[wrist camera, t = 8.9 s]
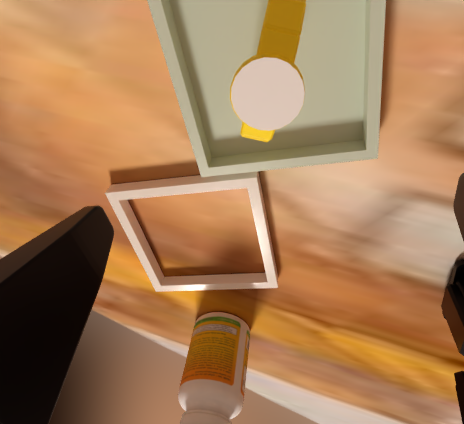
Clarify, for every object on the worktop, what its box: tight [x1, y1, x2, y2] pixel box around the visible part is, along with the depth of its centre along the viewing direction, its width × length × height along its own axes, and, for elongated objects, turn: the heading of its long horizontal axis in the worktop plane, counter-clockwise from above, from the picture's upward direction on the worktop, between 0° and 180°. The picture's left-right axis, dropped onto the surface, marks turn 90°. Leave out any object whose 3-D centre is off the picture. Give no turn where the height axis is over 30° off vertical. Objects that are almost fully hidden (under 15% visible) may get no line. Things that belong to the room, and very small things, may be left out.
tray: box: [147, 0, 386, 177], centre depth 17 cm, size 10×12×2 cm
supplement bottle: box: [178, 312, 250, 424], centre depth 30 cm, size 5×5×10 cm
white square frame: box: [105, 171, 278, 291], centre depth 26 cm, size 10×10×1 cm
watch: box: [230, 0, 306, 142], centre depth 15 cm, size 6×3×6 cm, turn 170°
